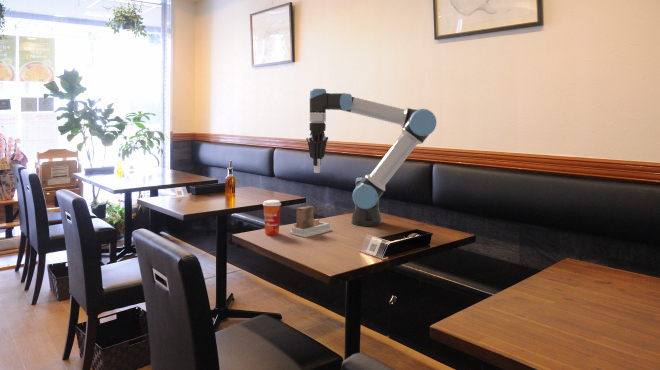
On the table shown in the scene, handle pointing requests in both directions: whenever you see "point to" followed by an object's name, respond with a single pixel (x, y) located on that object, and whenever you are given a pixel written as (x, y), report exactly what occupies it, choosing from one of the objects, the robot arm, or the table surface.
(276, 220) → the coffee cup
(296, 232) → the white rectangular tray
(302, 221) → the brown rectangular block
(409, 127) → the robot arm
